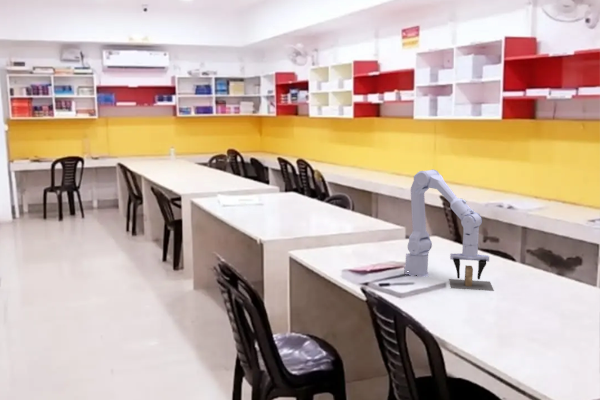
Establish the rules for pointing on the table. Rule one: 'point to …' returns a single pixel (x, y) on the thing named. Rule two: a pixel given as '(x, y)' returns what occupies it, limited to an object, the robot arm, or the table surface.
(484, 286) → the mat
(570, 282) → the table surface
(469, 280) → the block
